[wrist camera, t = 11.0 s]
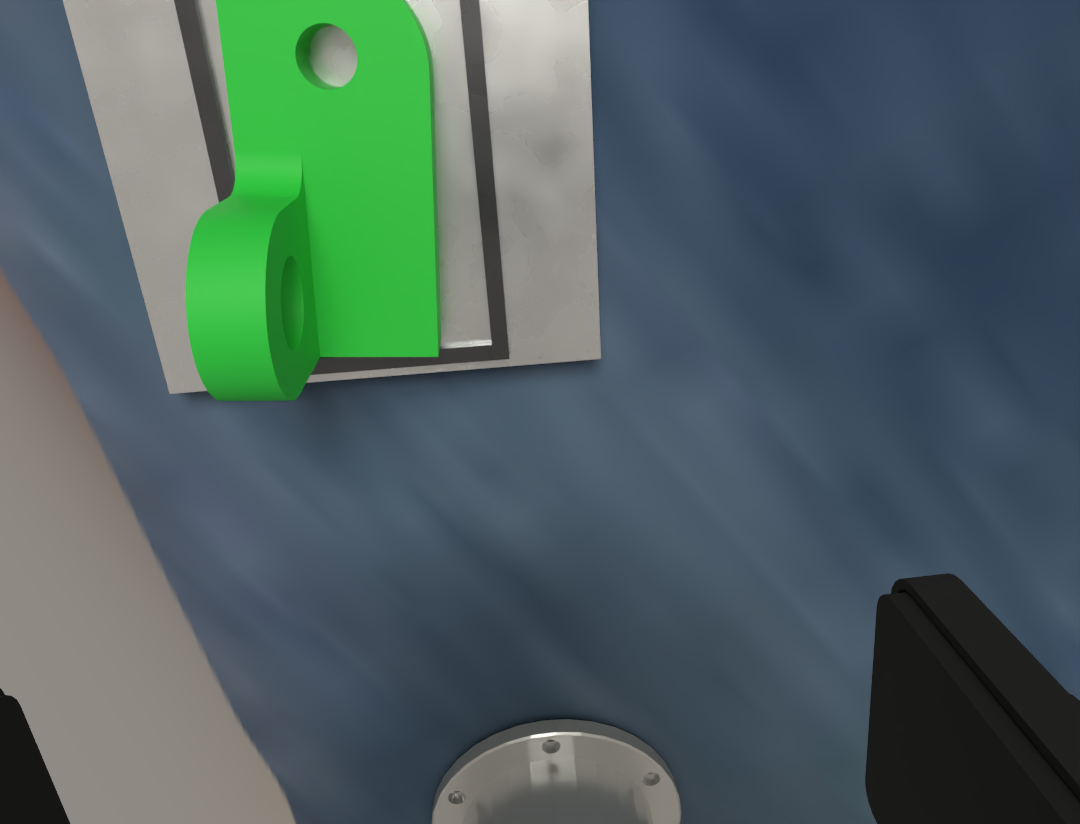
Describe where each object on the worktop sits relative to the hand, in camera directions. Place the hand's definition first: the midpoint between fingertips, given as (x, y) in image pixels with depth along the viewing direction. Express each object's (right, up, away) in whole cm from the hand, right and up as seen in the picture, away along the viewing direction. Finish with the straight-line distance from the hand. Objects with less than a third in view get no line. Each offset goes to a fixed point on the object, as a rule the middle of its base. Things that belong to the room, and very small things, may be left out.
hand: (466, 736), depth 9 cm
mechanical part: (-6, +12, +19) cm, 23 cm away
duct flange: (-6, +13, +20) cm, 24 cm away
